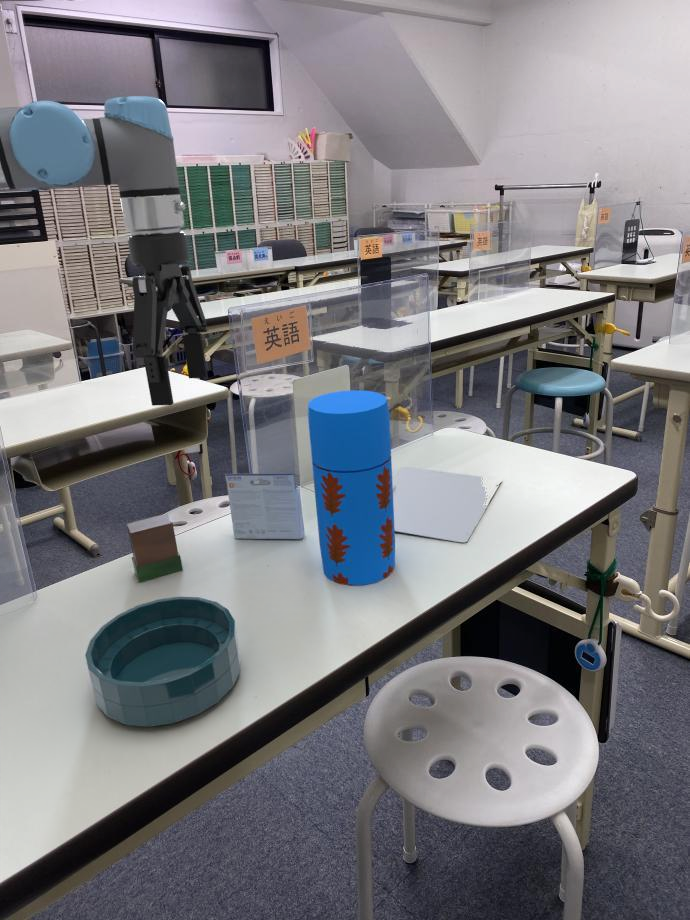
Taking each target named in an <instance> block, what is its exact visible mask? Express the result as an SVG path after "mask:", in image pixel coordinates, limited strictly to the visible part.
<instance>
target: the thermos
mask: <svg viewBox="0 0 690 920" xmlns="http://www.w3.org/2000/svg"><path fill="white" fill-rule="evenodd" d="M390 418H391V417H390V409H389V402H388V399H387V397H386V395H384V394H382V393H379V392H376V391H371V390H361V389H360V390H357V389H356V390H341V391H340V390H339V391H334V392H328V393H324V394H321V395H318V396H316V397H314V398H312V399H311V400H310V401H309V402H308V403H307V422H308V423H307V424H308V433H309V443H310V455H311V466H312V476H313V477H312V478H313V484H314V485H313V487H314V500H315V509H316V521H317V532H318V543H319V550H320V555H321V562H322V569H323V574H324V575H325V576H326V577H327V578H328V579H329V580H330V581H333V582H335V583H337V584H340V585H346V586H366V585H371V584H375V583H377V582H381V581H382V580H384V579H386V578H388V576H390V574H392V573H393V572H394V568H395V565H396V564H395V563H396V531H395V528H394V506H393V484H392V476H393V468H392V467H393V466H392V464H393V463H392V445H391V444H392V442H391V441H392V440H391V421H390Z"/></svg>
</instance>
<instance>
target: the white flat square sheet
mask: <svg viewBox="0 0 690 920" xmlns="http://www.w3.org/2000/svg"><path fill="white" fill-rule="evenodd" d="M482 477H483V476H481V475H473V474H466V473H465V474H464V473H457V472H449V471H442V470H434V469H427V468H426V469H425V468H418V467H410V466H401V467H399V469H398V470H397V471H396V472H395V473H394V474H392V484H393V506H394V528H395V533H401V534H402V533H403V534H409V535H414V536H420V537H426V538H432V539H437V540H443V541H448V542H455V543H460V544H463V543H464V544H465V543H468V542H469V539H470V538H471V536H472V534H473V533H474V531H475V529H476V528H477V526H478V525H479V522H480V520H481V519H482V517H483V516H484V514H485V512H486V510H487V509H488V507H486V505H483V504H484V502H485V504H486V501H487V499H488V498H485V497H487V496H488V495H487V496H486V495H485V494H486V493H487V492H486V491H485V487H483V486H482V485H483V482H482V480H483V478H482ZM481 478H482V480H481ZM481 482H482V484H481ZM486 489H487V488H486ZM484 491H485V492H484ZM489 498H490V497H489ZM485 500H486V501H485ZM483 506H484V507H483ZM485 507H486V508H487V509H486V508H485ZM485 509H486V510H485Z"/></svg>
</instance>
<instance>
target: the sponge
mask: <svg viewBox="0 0 690 920" xmlns="http://www.w3.org/2000/svg"><path fill="white" fill-rule="evenodd" d="M126 528H127V529H126V530H127V534H128V538H129V544H130V548H131V553H132V556H131V561H132V562H131V563H132V566H133V571H134V574H135V576H136V579H137V581H138V583H142V582H147V581H149V580H152V579H156V578H160V577H163V576H166V575H170V574H173V573H178V572H180V571H183V570H184V568H183V562H182V556H181V553H180V552H179V550H178V545H177V539H176V533H175V528H174V523H173V521H172V519H171V518H170V516H169V514H168V513H163V514H160V515H156V516H151V517H148V518H144V519H140V520H136V521H132V522H129V523H126Z"/></svg>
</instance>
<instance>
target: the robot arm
mask: <svg viewBox="0 0 690 920" xmlns="http://www.w3.org/2000/svg"><path fill="white" fill-rule="evenodd" d="M103 108H104V112H103V116H101V117H100V116H99V117H94V118H82V117H80V116H79V114H78V113H77V112H75V111H74V110H73V109H71V108H70V107H68V106H67V105H65V104H62V103H60V102H56V101H53V100H37V101H35V100H34V101H32V102H30V103H28V104H25V105H23V106H14V107H13V106H12V107H11V106H10V107H0V191H5V190H15V189H16V190H22V191H23V190H24V191H32V190H33V191H49V190H54V189H55V190H57V189H72V188H73V189H75V188H83V187H95V186H111V185H117V187H118V191H119V193H118V194H119V200H120V205H121V211H122V218H123V224H124V230H125V231H126V232H129V233H130V236H128V238H127V239H126V240H127V246H128V251H129V257H130V261H131V264H132V265H133V266H135V267H142V268H143V275H141V276H140V275H139V276H133V277H132V289H133V295H134V296H133V297H134V298H133V329H132V354H133V356H134V358H137V359H142V358H143V362H144V363H143V364H144V368H145V374H146V380H147V385H148V391H149V396H150V401H151V406H152V407H153V406H154V407H155V406H172V405H174V398H173V397H174V396H173V391H172V385H171V379H170V373H169V368H168V362H167V355H166V354H163V347H164V339H165V334H166V327H167V320H168V319H167V318H168V312H170V311H171V310H172V312H173V314H174V315H175V317H176V319H177V320H178V323H179V325H180V326H181V328H182V329H183V331H184V334H181V336H182V343H183V351H184V356H185V362H186V369H187V375H188V376H187V377H188V379H207V378H208V367H207V363H206V354H205V347H204V342H203V335H202V333H207V332H208V325H207V320H206V317H205V313H204V311H203V308H202V305H201V302H200V298H199V296H198V293H197V290H196V287H195V284H194V281H193V277H192V272H191V266H190V265H189V264H182V263H186V262H188V261H189V260H190V258H191V257H190V250H189V242H188V236H187V235H188V234H186V233H185V231H182V229H181V228H184V227H185V225H186V224H185V218H184V212H183V211H185V209H186V204H185V203H184V202H182V197H181V190H180V182H179V181H180V180H179V175H178V173H179V172H178V167H177V159H176V150H175V143H174V136H173V134H172V129H171V123H170V118H169V113H168V108H167V106H166V104H165V102H163V101H162V100H161V99H159V98H157V97H154V96H147V95H132V96H131V95H130V96H124V97H123V96H119V97H114V98H113V97H112V98H109V99H107V100H106V101H105V102H104V105H103Z"/></svg>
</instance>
